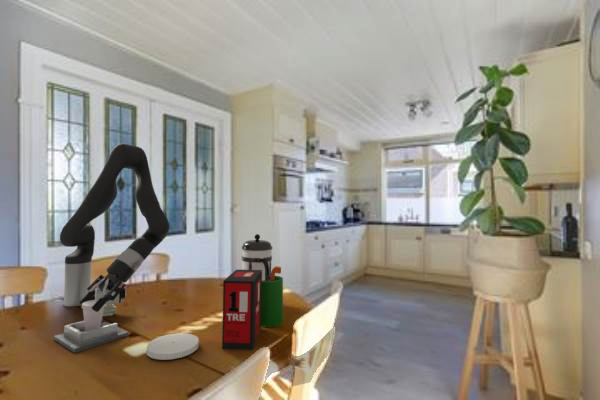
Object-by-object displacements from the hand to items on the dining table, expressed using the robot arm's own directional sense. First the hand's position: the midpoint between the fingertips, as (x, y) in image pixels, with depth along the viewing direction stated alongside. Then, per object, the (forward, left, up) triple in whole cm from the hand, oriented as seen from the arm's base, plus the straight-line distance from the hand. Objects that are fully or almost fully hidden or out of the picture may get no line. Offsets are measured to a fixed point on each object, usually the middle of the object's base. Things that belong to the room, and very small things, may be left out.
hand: (87, 307), depth 100 cm
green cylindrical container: (+36, +45, -10) cm, 59 cm away
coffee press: (+21, +55, -10) cm, 60 cm away
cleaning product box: (+38, +29, -10) cm, 49 cm away
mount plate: (0, +1, -10) cm, 10 cm away
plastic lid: (+28, +11, -10) cm, 32 cm away
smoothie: (0, +1, -9) cm, 9 cm away
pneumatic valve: (-18, +14, -10) cm, 25 cm away
